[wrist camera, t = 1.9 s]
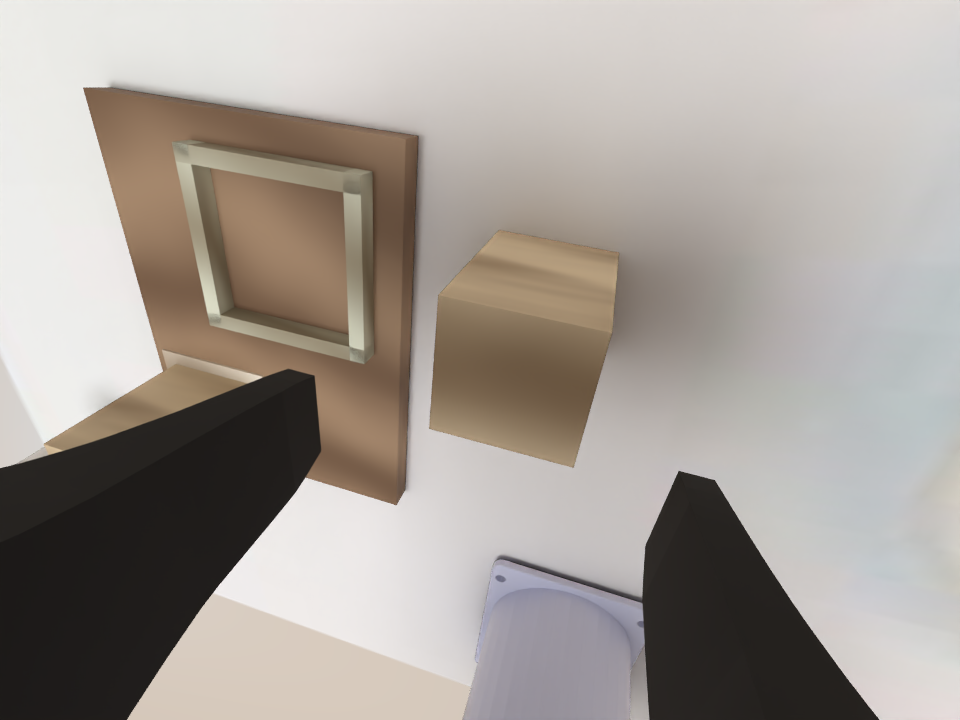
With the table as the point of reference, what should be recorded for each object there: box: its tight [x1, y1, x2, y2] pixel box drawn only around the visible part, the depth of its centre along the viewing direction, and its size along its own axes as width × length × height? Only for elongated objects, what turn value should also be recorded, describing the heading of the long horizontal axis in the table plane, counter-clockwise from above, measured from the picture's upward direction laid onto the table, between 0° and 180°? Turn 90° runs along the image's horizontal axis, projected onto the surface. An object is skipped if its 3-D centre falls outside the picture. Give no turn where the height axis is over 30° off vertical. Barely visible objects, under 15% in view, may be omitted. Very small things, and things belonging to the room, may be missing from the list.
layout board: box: [44, 88, 418, 505], centre depth 18 cm, size 16×12×7 cm
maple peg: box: [429, 230, 619, 468], centre depth 14 cm, size 4×4×6 cm
